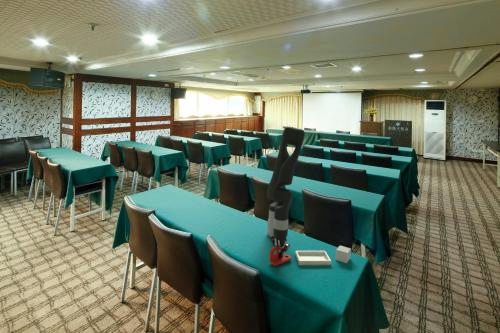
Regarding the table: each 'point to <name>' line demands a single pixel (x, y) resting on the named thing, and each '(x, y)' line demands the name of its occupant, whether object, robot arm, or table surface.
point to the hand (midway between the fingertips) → (279, 257)
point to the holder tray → (312, 258)
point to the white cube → (343, 254)
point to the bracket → (275, 259)
